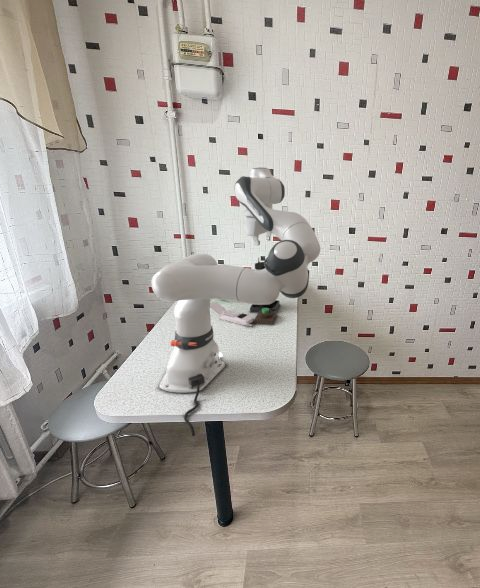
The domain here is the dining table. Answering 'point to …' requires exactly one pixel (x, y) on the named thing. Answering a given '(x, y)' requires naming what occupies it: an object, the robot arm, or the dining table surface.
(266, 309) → the power button
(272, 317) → the switch block
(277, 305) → the black square tray
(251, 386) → the dining table surface
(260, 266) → the portable radio
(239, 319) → the pale pink bent bar
